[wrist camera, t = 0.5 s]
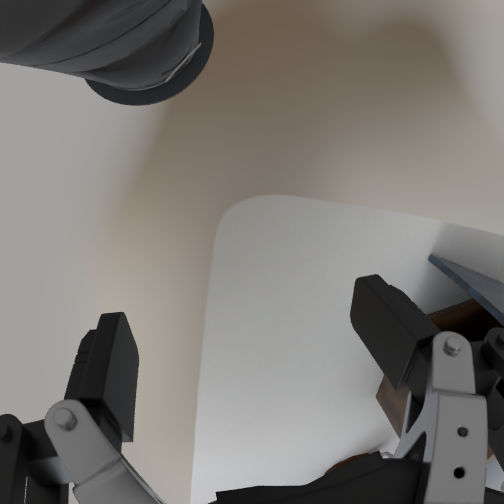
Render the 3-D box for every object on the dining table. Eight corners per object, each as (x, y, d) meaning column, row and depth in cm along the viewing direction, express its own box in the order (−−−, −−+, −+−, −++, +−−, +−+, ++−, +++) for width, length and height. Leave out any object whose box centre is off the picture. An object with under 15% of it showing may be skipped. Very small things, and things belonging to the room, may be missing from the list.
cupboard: (401, 323, 39) (498, 449, 18) (499, 287, 43) (579, 362, 22) (375, 397, 47) (433, 501, 26) (469, 355, 51) (528, 428, 30)
